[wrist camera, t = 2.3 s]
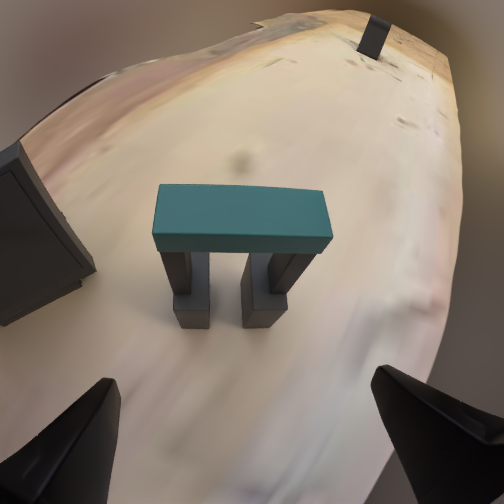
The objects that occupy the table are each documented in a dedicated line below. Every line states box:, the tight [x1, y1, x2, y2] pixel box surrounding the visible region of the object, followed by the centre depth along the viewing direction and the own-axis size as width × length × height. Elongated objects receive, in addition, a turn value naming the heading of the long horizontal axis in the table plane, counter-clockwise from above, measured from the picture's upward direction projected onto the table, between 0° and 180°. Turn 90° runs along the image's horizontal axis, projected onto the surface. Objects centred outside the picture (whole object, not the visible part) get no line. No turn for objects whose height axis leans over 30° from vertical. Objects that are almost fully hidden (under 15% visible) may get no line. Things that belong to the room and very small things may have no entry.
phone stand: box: [357, 15, 392, 60], centre depth 53 cm, size 9×6×12 cm, turn 156°
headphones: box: [152, 184, 333, 329], centre depth 17 cm, size 4×7×13 cm, turn 93°
